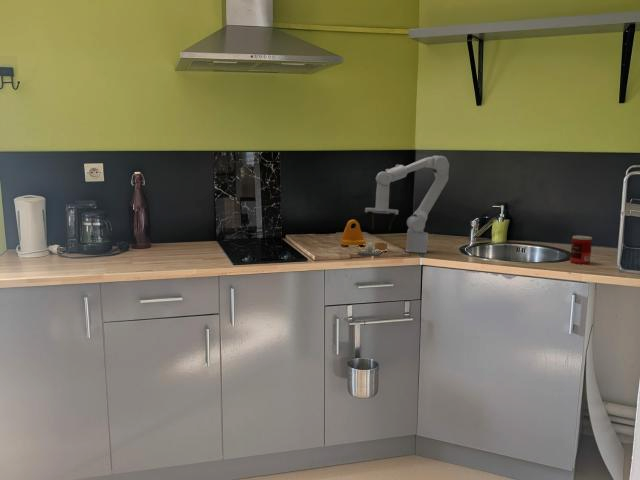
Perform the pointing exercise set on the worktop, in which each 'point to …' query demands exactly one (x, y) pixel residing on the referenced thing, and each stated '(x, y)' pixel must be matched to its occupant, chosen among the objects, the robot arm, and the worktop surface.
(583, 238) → the canned food
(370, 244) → the post block
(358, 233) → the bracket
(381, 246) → the ring
